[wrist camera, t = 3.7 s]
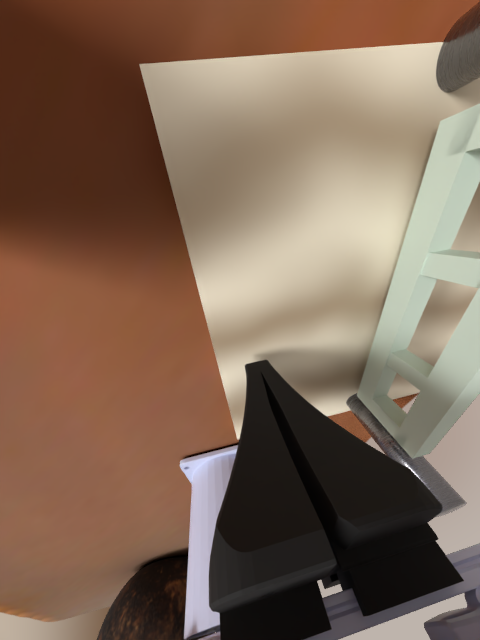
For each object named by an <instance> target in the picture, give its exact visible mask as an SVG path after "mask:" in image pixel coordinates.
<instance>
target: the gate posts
mask: <svg viewBox="0 0 480 640" xmlns="http://www.w3.org/2000/svg"><path fill="white" fill-rule="evenodd" d="M478 78H480V2H479V3H478V4H476V5H475V6H474V7H473V8H472V9H470V10H469V11H468V12H467V13H465V14H464V15H463V16H462V17H460V18H459V19H458V20H457V22H456V23H455V24H454V25H453V27H452V28H451V29H450V31H449V33H448V34H447V36H446V38H445V40H444V42H443V44H442V47H441V50H440V53H439V56H438V60H437V66H436V79H437V84H438V86H439V88H440V89H441V90H442V91H444V92H453V91H455V90H457V89H459V88H461V87H463V86H465V85H467V84H468V83H470V82H472V81H474V80H476V79H478ZM346 404H347V406H348V407H349V408H350V410H351V411H352V412H353V413H354V415H355V416H356V417H357V419H358V420H359V421H360V422H361V424H362V425H363V426H364V428H365V429H366V430H367V431H368V433H369V434H370V435H371V437H372V438H373V439H374V440H375V442H376V443H377V444H378V445H379V447H380V448H381V449H382V450H383V452H384V453H385V454H386V456H388V457H390V458H391V459H393V460H395V461H397V462H399V463H400V464H402V465H404V466H406V467H407V468H409V469H411V471H412V472H413V473H414V474H415V475H416V476H417V477H418V478H419V479H420V480H421V481H422V482H423V483H424V484H425V485H426V486H427V488H428V489H429V490H430V491H431V492H432V493H433V495H434V496H435V497H436V498H437V499H438V501H439V502H440V503H441V504H442V508H443V509H442V512H441V513H439V514H438V515H437V516H436V517H439V516H442V515H445V514H448V513H450V512H453V511H455V510H457V509H459V508H461V507H463V506H464V505H466V502H465V501H464V500H463V499H462V498H461V496H460V495H459V494H458V493H457V492H456V491H455V490H454V489H453V488H452V487H451V486H450V485H449V484H448V483H447V482H446V480H445V479H444V478H443V477H442V476H441V475H440V474H439V473H438V472H437V471H436V470H435V469H434V468H433V467H432V465H431V464H430V463H429V462H428V461H427V460H426V459H425V458H424V457H423V456H420V457H416V458H413V459H412V458H411V457H410V456H409V454H408V453H407V452H406V451H405V450H404V449H403V448H402V447H401V445H400V444H399V443H398V442H397V441H396V440H395V439H394V437H393V436H392V435H391V434H390V433H389V432H388V431H387V430H386V428H385V427H384V426H383V425H382V424H381V423H380V422H379V420H378V419H377V418H376V417H375V416H374V415H373V414H372V413H371V411H370V410H369V409H368V408H367V407H366V406H365V405H364V403H363V402H362V401H361V400H360V399H359V398H358V397H357V393H356V394H354V395H352V396H351V397H349V398H348V400H347V401H346Z"/></svg>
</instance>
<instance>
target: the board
mask: <svg viewBox="0 0 480 640" xmlns="http://www.w3.org/2000/svg"><path fill="white" fill-rule="evenodd" d="M442 44H443V42H437V43H423V44H410V45H396V46H382V47H369V48H355V49H341V50H327V51H314V52H300V53H286V54H272V55H259V56H245V57H231V58H217V59H204V60H190V61H176V62H162V63H149V64H139V65H140V69H141V73H142V76H143V80H144V84H145V88H146V92H147V96H148V99H149V103H150V107H151V111H152V115H153V118H154V122H155V126H156V130H157V134H158V138H159V141H160V145H161V149H162V153H163V157H164V161H165V164H166V168H167V172H168V176H169V180H170V183H171V187H172V191H173V195H174V199H175V203H176V206H177V210H178V214H179V218H180V222H181V225H182V229H183V233H184V237H185V241H186V245H187V248H188V252H189V256H190V260H191V264H192V267H193V271H194V275H195V279H196V283H197V287H198V290H199V294H200V298H201V302H202V306H203V310H204V313H205V317H206V321H207V325H208V329H209V332H210V336H211V340H212V344H213V348H214V352H215V355H216V359H217V363H218V367H219V371H220V374H221V378H222V382H223V386H224V390H225V394H226V397H227V401H228V405H229V409H230V413H231V417H232V420H233V424H234V428H235V432H236V436H237V439H240V434H241V429H242V423H243V417H244V410H245V401H246V384H247V383H246V371H245V365H246V364H248V363H253V362H257V361H262V360H268V361H269V363H270V364H271V365H272V366H273V367H274V369H275V370H276V371H277V372H278V373H279V374H280V375H281V376H282V377H283V379H284V380H285V381H286V382H287V383H288V384H289V385H290V386H291V387H292V388H293V389H295V390H296V391H297V392H298V393H299V394H300V395H301V396H302V397H303V398H304V399H306V400H307V401H308V402H309V403H310V404H311V405H313V406H314V407H315V408H316V409H318V410H319V411H320V412H321V413H323V414H324V415H325V416H331V415H334V414H338V413H342V412H346V411H350V408H349V407H348V406H347V404H346V401H347V400H348V398H349V397H351V396H352V395H354V394H356V393H358V390H359V387H360V383H361V380H362V377H363V373H364V370H365V367H366V364H367V360H368V357H369V354H370V350H371V347H372V344H373V341H374V337H375V334H376V331H377V327H378V324H379V321H380V318H381V314H382V311H383V308H384V304H385V301H386V298H387V295H388V291H389V288H390V285H391V281H392V278H393V275H394V272H395V268H396V265H397V262H398V258H399V255H400V252H401V249H402V245H403V242H404V239H405V235H406V232H407V229H408V226H409V222H410V219H411V216H412V212H413V209H414V206H415V203H416V199H417V196H418V193H419V189H420V186H421V183H422V180H423V176H424V173H425V170H426V166H427V163H428V160H429V157H430V153H431V150H432V147H433V143H434V140H435V137H436V134H437V130H438V127H439V124H440V121H441V120H444V119H446V118H448V117H450V116H453V115H455V114H457V113H459V112H462V111H464V110H466V109H468V108H471V107H473V106H475V105H477V104H480V78H478V79H476V80H474V81H472V82H470V83H468V84H467V85H465V86H463V87H461V88H459V89H457V90H455V91H453V92H444V91H442V90H441V89H440V88H439V86H438V84H437V79H436V66H437V60H438V56H439V53H440V50H441V47H442ZM451 249H452V250H462V251H472V252H480V182H479V184H478V187H477V189H476V191H475V194H474V196H473V198H472V201H471V203H470V205H469V207H468V210H467V212H466V214H465V217H464V219H463V221H462V224H461V226H460V228H459V230H458V233H457V235H456V237H455V240H454V242H453V244H452V247H451ZM478 289H479V288H475V287H470V286H466V285H462V284H458V283H453V282H449V281H445V280H440V279H437V281H436V283H435V286H434V288H433V290H432V293H431V295H430V297H429V300H428V302H427V304H426V306H425V309H424V311H423V313H422V316H421V318H420V320H419V323H418V325H417V327H416V329H415V332H414V334H413V336H412V339H411V341H410V343H409V346H408V348H407V350H408V351H410V352H411V353H413V354H414V355H416V356H418V357H419V358H421V359H422V360H424V361H426V362H427V363H429V364H430V365H432V366H435V364H436V363H437V361H438V359H439V357H440V355H441V354H442V352H443V350H444V348H445V347H446V345H447V343H448V341H449V340H450V338H451V336H452V334H453V333H454V331H455V329H456V327H457V326H458V324H459V322H460V320H461V319H462V317H463V315H464V313H465V311H466V310H467V308H468V306H469V304H470V303H471V301H472V299H473V297H474V296H475V294H476V292H477V290H478ZM419 392H420V390H419V389H417V388H416V387H415V386H413V385H412V384H411V383H410V382H408V381H407V380H406V379H404V378H403V377H402V376H400V375H399V374H398V373H396V376H395V378H394V380H393V382H392V385H391V387H390V389H389V392H388V394H387V396H388V397H389V398H391V399H392V400H393V399H397V398H400V397H404V396H408V395H412V394H416V393H419Z"/></svg>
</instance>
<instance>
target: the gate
mask: <svg viewBox="0 0 480 640" xmlns="http://www.w3.org/2000/svg"><path fill="white" fill-rule="evenodd" d="M479 182H480V104H477V105H475V106H473V107H471V108H468V109H466V110H464V111H462V112H459V113H457V114H455V115H453V116H450V117H448V118H446V119H444V120H441V121H440V124H439V127H438V130H437V134H436V137H435V140H434V143H433V147H432V150H431V153H430V157H429V160H428V163H427V166H426V170H425V173H424V176H423V180H422V183H421V186H420V189H419V193H418V196H417V199H416V203H415V206H414V209H413V212H412V216H411V219H410V222H409V226H408V229H407V232H406V235H405V239H404V242H403V245H402V249H401V252H400V255H399V258H398V262H397V265H396V268H395V272H394V275H393V278H392V281H391V285H390V288H389V291H388V295H387V298H386V301H385V304H384V308H383V311H382V314H381V318H380V321H379V324H378V327H377V331H376V334H375V337H374V341H373V344H372V347H371V350H370V354H369V357H368V360H367V364H366V367H365V370H364V373H363V377H362V380H361V383H360V387H359V390H358V393H357V397H358V398H359V399H360V400H361V401H362V402H363V403H364V405H365V406H366V407H367V408H368V409H369V410H370V411H371V413H372V414H373V415H374V416H375V417H376V418H377V419H378V420H379V422H380V423H381V424H382V425H383V426H384V427H385V428H386V430H387V431H388V432H389V433H390V434H391V435H392V436H393V437H394V439H395V440H396V441H397V442H398V443H399V444H400V445H401V447H402V448H403V449H404V450H405V451H406V452H407V453H408V454H409V456H410V457H411V458H412V459H413V458H416V457H420V456H423V455H426V454H430V453H431V451H432V450H433V449H434V448H435V447H436V445H437V444H438V443H439V442H440V441H441V439H442V438H443V437H444V435H445V434H446V433H447V432H448V431H449V430H450V428H451V427H452V426H453V425H454V423H456V421H457V420H458V419H459V418H460V416H461V415H462V414H463V413H464V412H465V410H466V409H467V408H468V407H469V406H470V404H471V403H472V402H473V401H474V400H475V398H476V397H477V396H478V395H479V394H480V252H472V251H462V250H452V249H451V247H452V244H453V242H454V240H455V237H456V235H457V233H458V230H459V228H460V226H461V224H462V221H463V219H464V217H465V214H466V212H467V210H468V207H469V205H470V203H471V201H472V198H473V196H474V194H475V191H476V189H477V187H478V184H479ZM437 279H440V280H445V281H449V282H453V283H458V284H462V285H466V286H470V287H475V288H479V289H478V290H477V292H476V294H475V296H474V297H473V299H472V301H471V303H470V304H469V306H468V308H467V310H466V311H465V313H464V315H463V317H462V319H461V320H460V322H459V324H458V326H457V327H456V329H455V331H454V333H453V334H452V336H451V338H450V340H449V341H448V343H447V345H446V347H445V348H444V350H443V352H442V354H441V355H440V357H439V359H438V361H437V363H436V364H435V366H432V365H430V364H429V363H427V362H426V361H424V360H422V359H421V358H419V357H418V356H416V355H414V354H413V353H411V352H410V351H408V350H407V348H408V346H409V343H410V341H411V339H412V336H413V334H414V332H415V329H416V327H417V325H418V323H419V320H420V318H421V316H422V313H423V311H424V309H425V306H426V304H427V302H428V300H429V297H430V295H431V293H432V290H433V288H434V286H435V283H436V281H437ZM396 373H398V374H399V375H400V376H402V377H403V378H404V379H406V380H407V381H408V382H410V383H411V384H412V385H413V386H415V387H416V388H417V389H419V390H420V392H419V394H418V396H417V398H416V399H415V401H414V403H413V405H412V407H411V408H410V410H409V412H408V414H406V413H405V412H404V411H403V410H402V409H401V408H400V407H399V406H398V405H397V404H396V403H395V402H394V401H393V400H392V399H391V398H389V397H388V396H387V394H388V392H389V389H390V387H391V385H392V382H393V380H394V378H395V376H396Z"/></svg>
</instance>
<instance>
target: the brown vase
mask: <svg viewBox="0 0 480 640" xmlns="http://www.w3.org/2000/svg"><path fill="white" fill-rule="evenodd" d="M187 571H188V557H173V558H168V559H163V560H160V561H157V562H154V563H151V564H149V565H147V566H146V567H144V568H142V569H141V570H140V571H138V572H137V573H136V574H135V575H134V576H133V577H132V578H131V579H130V580H129V581H128V582H127V583H126V585H125V586H124V587H123V589H122V590H121V591H120V593H119V594H118V596H117V598H116V599H115V601H114V602H113V604H112V606H111V608H110V609H109V612H108V614H107V615H106V618H105V620H104V622H103V624H102V627H101V629H100V632H99V635H98V638H97V640H184V626H185V608H186V589H187ZM214 633H215V632H213V633H210V634H207V635H203V636H200V637H196V638H192V639H187V640H198V639H201V638H203V637H206V636H209V635H212V634H214Z"/></svg>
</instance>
